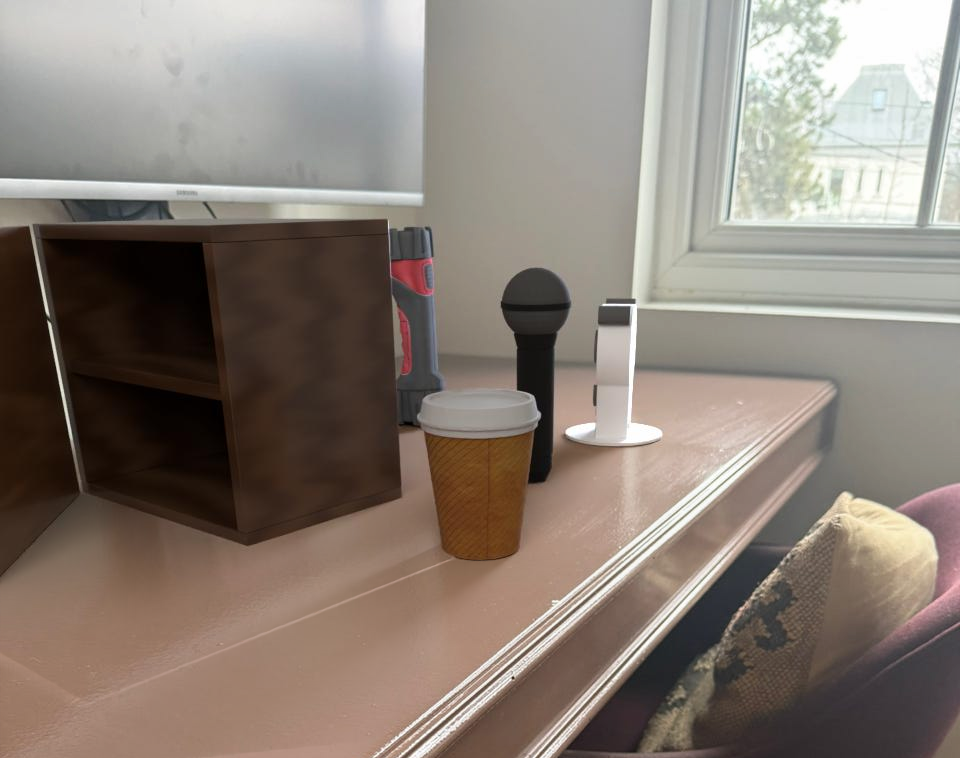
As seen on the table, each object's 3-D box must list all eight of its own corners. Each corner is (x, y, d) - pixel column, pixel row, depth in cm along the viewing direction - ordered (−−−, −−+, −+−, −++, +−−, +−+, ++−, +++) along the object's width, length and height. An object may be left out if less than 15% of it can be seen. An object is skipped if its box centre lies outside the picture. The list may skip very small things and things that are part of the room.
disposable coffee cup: (444, 525, 84) (439, 385, 79) (551, 534, 82) (553, 389, 77) (405, 561, 76) (397, 407, 71) (522, 572, 73) (523, 413, 68)
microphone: (574, 486, 95) (580, 268, 87) (508, 490, 94) (507, 270, 86) (558, 469, 101) (562, 264, 92) (496, 473, 100) (494, 266, 92)
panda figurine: (572, 422, 122) (575, 296, 116) (663, 425, 120) (671, 297, 113) (559, 444, 111) (562, 307, 105) (660, 447, 109) (668, 307, 103)
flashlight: (374, 418, 126) (363, 226, 117) (432, 413, 128) (425, 225, 119) (388, 430, 119) (377, 228, 110) (448, 424, 122) (443, 226, 112)
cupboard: (248, 547, 80) (209, 225, 69) (82, 492, 95) (31, 223, 85) (402, 498, 92) (388, 218, 82) (233, 457, 108) (204, 218, 98)
